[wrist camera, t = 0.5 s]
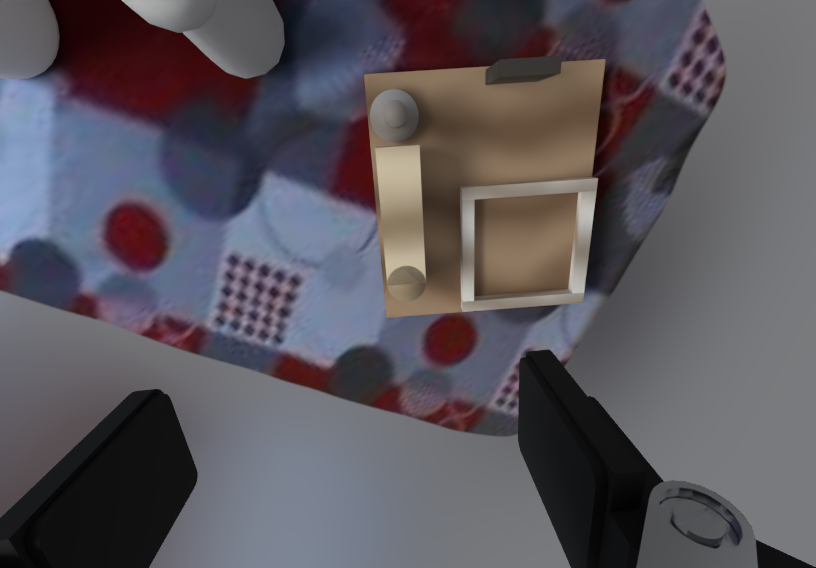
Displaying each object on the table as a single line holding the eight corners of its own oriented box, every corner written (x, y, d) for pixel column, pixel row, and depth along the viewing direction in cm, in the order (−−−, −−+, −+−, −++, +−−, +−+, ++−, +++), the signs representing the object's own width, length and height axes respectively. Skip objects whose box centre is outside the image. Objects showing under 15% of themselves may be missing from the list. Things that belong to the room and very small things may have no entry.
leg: (376, 146, 28) (375, 147, 25) (416, 144, 28) (419, 145, 25) (388, 288, 32) (388, 303, 29) (423, 286, 32) (426, 300, 29)
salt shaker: (306, 62, 28) (245, 7, 16) (240, 95, 29) (134, 66, 17) (265, -26, 26) (160, -163, 14) (195, 12, 27) (37, -89, 15)
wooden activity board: (365, 77, 29) (358, 61, 23) (595, 62, 29) (648, 43, 23) (386, 310, 36) (386, 345, 30) (570, 296, 37) (605, 328, 31)
